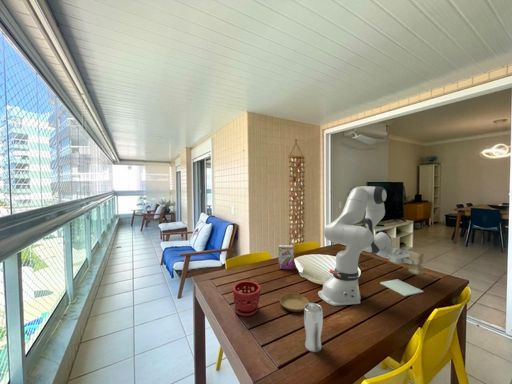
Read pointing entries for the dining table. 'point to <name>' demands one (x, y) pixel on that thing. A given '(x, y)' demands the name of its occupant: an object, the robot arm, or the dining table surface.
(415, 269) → the maple block
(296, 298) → the plant saucer
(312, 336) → the beer glass
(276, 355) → the dining table surface
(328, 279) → the robot arm
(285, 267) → the candy bar box
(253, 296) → the plant pot
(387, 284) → the sage mat
